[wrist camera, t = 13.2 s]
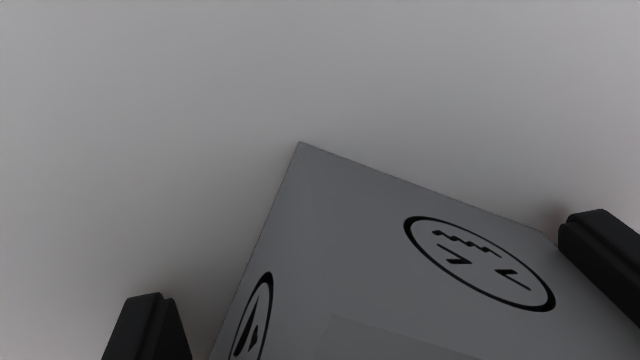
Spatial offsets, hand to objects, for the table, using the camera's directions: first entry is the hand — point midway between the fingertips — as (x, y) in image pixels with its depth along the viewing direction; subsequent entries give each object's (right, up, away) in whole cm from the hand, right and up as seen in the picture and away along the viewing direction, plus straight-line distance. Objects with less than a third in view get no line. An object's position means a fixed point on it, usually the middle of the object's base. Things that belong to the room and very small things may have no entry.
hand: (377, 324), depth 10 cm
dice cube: (0, 0, +1) cm, 1 cm away
